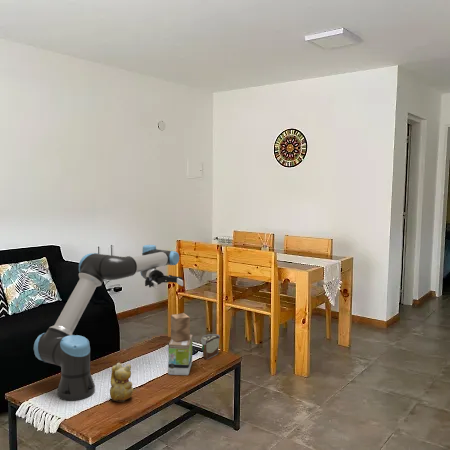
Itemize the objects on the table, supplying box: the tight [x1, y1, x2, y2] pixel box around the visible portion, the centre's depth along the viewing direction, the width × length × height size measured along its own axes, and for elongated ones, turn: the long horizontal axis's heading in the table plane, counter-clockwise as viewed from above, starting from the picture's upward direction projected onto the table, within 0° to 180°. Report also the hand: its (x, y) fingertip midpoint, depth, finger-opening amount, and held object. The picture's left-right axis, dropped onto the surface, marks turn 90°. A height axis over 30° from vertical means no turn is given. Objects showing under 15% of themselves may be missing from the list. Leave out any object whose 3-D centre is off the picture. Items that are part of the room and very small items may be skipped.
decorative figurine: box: [109, 362, 134, 403], centre depth 192 cm, size 10×8×15 cm
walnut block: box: [170, 312, 191, 342], centre depth 222 cm, size 7×7×11 cm
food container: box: [200, 333, 221, 360], centre depth 241 cm, size 12×6×10 cm, turn 144°
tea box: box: [167, 334, 193, 376], centre depth 223 cm, size 15×10×15 cm, turn 178°
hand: (169, 284), depth 232 cm, fingers open, 13 cm apart
